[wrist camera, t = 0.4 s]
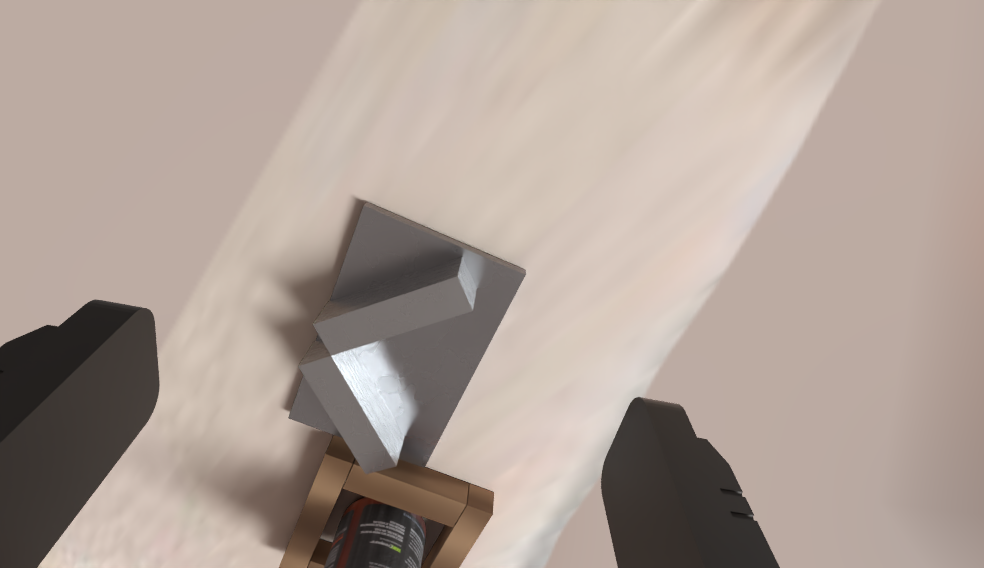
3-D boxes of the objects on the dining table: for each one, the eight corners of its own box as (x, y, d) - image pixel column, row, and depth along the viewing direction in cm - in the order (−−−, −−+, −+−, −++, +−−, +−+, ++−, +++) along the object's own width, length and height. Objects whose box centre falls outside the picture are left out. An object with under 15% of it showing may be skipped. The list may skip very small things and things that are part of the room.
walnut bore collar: (334, 433, 36) (325, 454, 34) (493, 492, 37) (492, 514, 35) (286, 550, 41) (276, 572, 39) (429, 597, 42) (425, 620, 40)
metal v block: (365, 201, 29) (348, 221, 26) (525, 269, 30) (525, 296, 27) (290, 411, 35) (270, 446, 32) (425, 461, 36) (417, 498, 33)
